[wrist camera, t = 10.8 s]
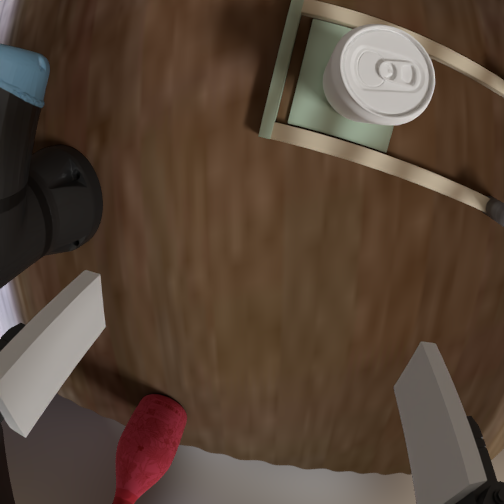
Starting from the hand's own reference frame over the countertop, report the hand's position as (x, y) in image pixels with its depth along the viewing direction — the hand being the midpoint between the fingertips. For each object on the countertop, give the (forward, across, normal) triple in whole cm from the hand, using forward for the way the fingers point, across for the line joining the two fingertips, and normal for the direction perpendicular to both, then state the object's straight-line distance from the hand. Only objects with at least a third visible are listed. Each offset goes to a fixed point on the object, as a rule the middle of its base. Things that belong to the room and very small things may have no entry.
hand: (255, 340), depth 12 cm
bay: (+25, +12, +13) cm, 31 cm away
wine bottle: (+26, -13, -44) cm, 53 cm away
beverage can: (+25, +6, +13) cm, 29 cm away
